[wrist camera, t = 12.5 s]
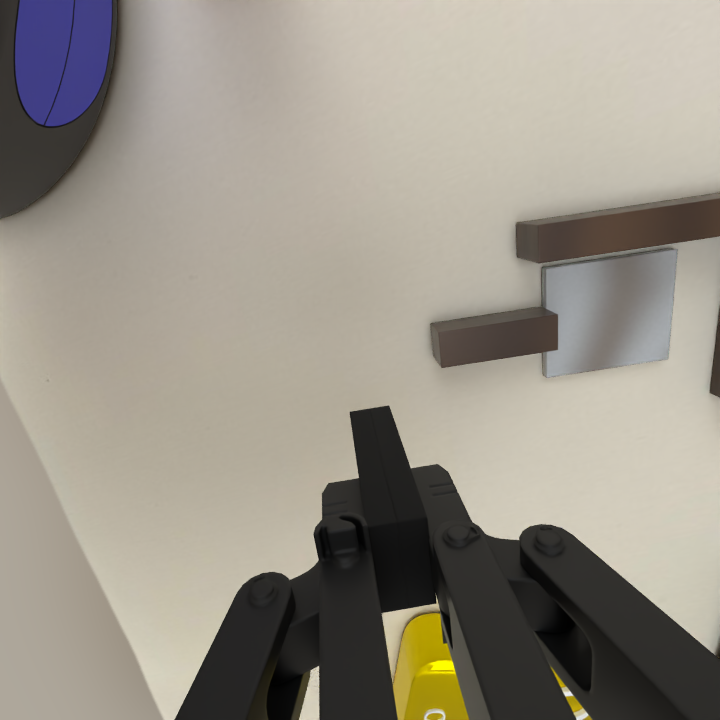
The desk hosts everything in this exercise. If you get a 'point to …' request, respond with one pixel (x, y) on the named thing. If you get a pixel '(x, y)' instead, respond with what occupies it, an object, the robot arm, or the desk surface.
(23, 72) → the leaning round-cornered charcoal block
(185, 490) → the desk surface
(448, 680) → the element tile
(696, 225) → the corner stop
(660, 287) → the spatula
